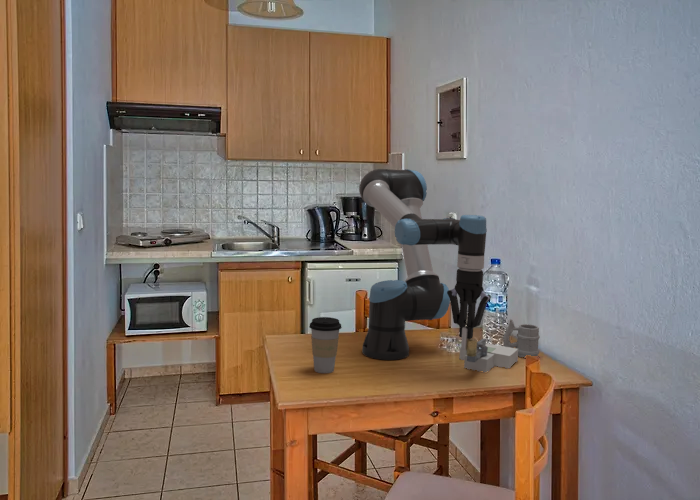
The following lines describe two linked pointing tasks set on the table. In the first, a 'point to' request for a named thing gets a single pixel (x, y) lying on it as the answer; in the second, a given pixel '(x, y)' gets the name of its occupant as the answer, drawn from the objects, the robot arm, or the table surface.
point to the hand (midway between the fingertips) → (465, 348)
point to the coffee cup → (324, 343)
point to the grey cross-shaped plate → (497, 354)
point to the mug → (523, 339)
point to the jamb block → (481, 362)
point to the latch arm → (475, 350)
